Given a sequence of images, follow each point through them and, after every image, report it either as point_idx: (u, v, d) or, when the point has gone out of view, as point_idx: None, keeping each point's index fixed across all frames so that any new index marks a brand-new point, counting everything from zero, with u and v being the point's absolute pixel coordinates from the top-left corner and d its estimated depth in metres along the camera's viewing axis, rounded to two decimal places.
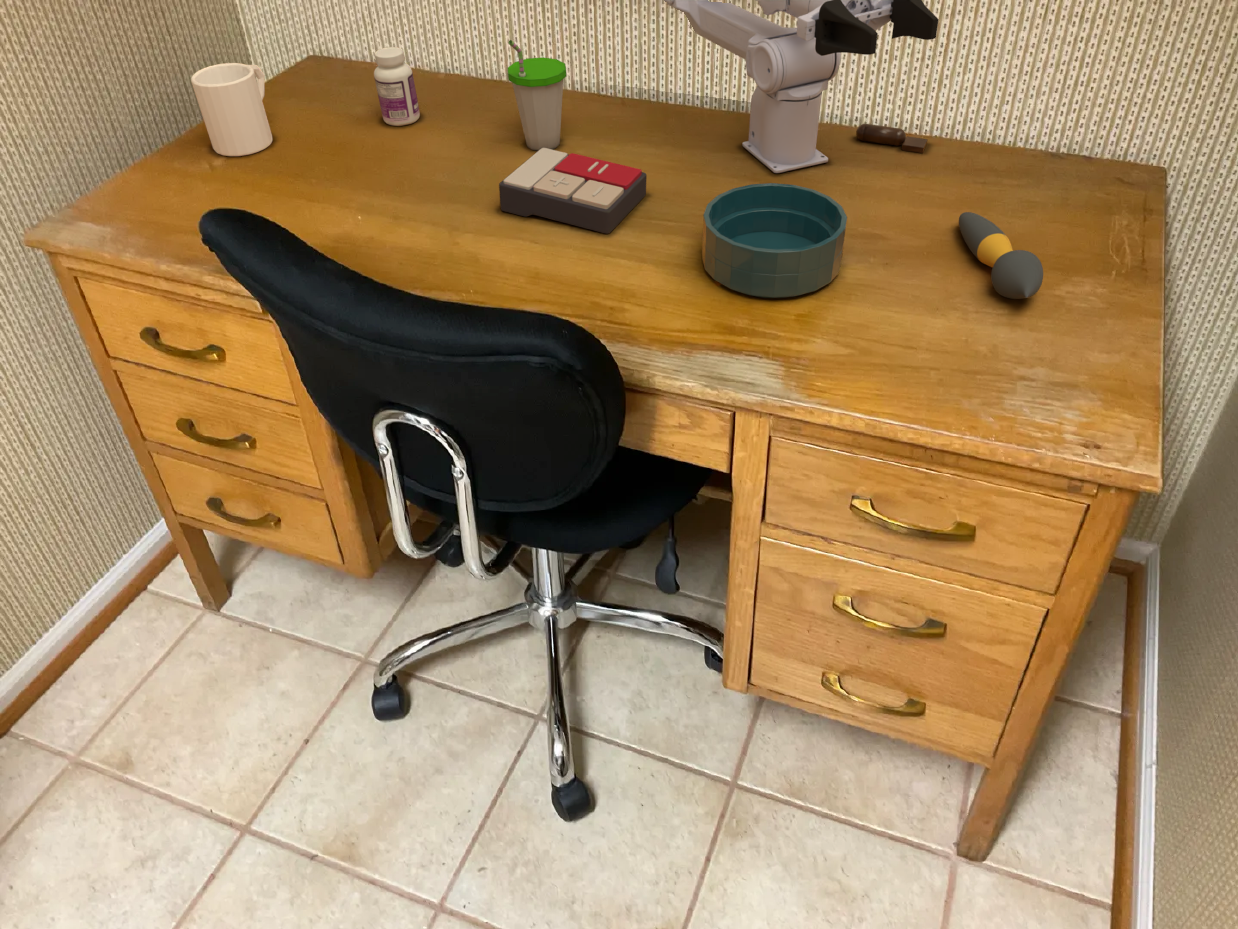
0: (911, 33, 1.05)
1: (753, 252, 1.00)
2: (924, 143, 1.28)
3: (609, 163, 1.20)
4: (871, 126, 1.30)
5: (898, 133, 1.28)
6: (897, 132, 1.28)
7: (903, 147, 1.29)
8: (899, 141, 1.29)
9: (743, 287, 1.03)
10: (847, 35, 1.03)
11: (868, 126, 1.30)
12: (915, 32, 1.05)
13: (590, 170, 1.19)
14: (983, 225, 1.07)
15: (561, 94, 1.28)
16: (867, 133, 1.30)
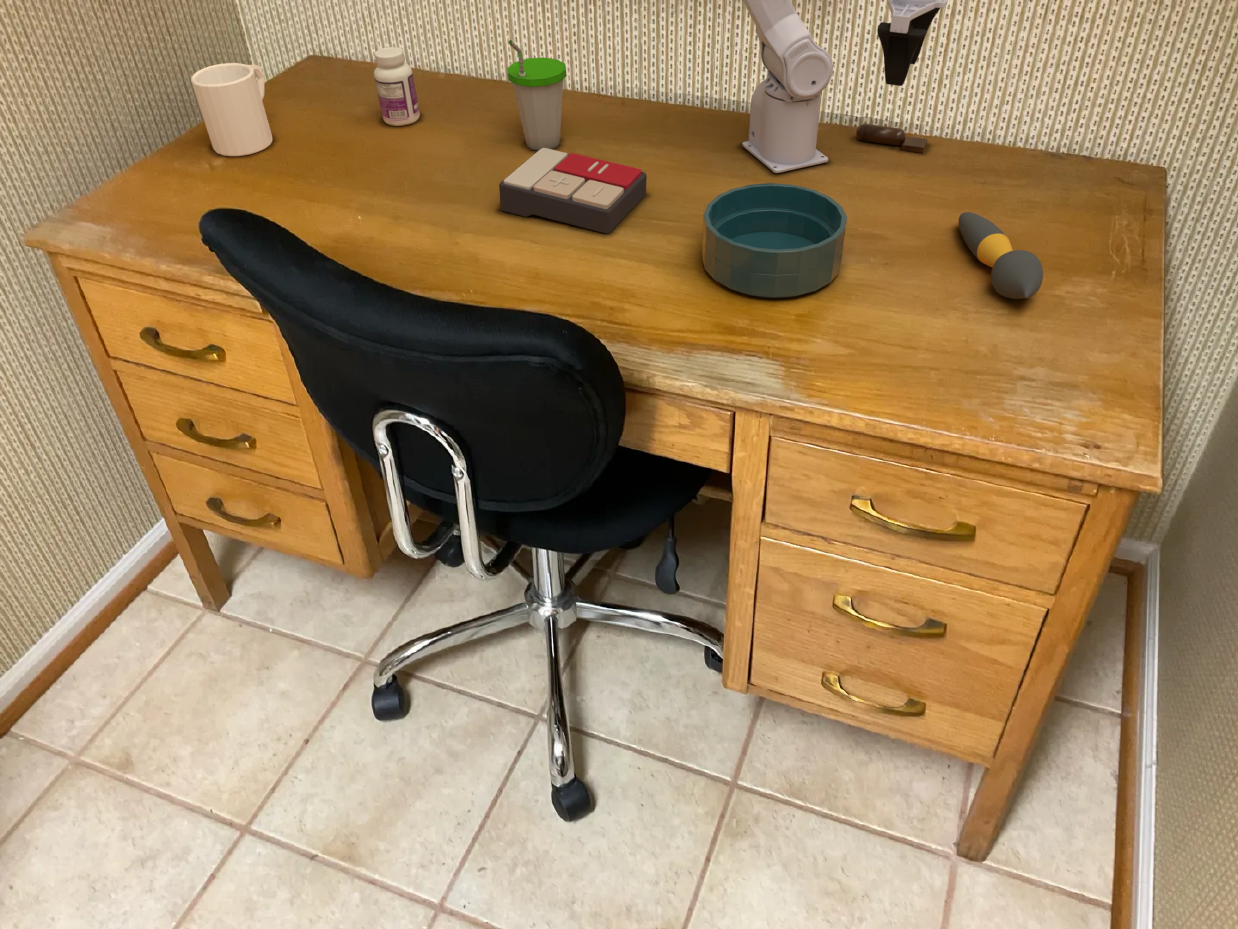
0: None
1: (753, 252, 1.00)
2: (924, 143, 1.28)
3: (609, 163, 1.20)
4: (871, 126, 1.30)
5: (898, 133, 1.28)
6: (897, 132, 1.28)
7: (903, 147, 1.29)
8: (899, 141, 1.29)
9: (743, 287, 1.03)
10: (897, 53, 1.19)
11: (868, 126, 1.30)
12: None
13: (590, 170, 1.19)
14: (983, 225, 1.07)
15: (561, 94, 1.28)
16: (867, 133, 1.30)
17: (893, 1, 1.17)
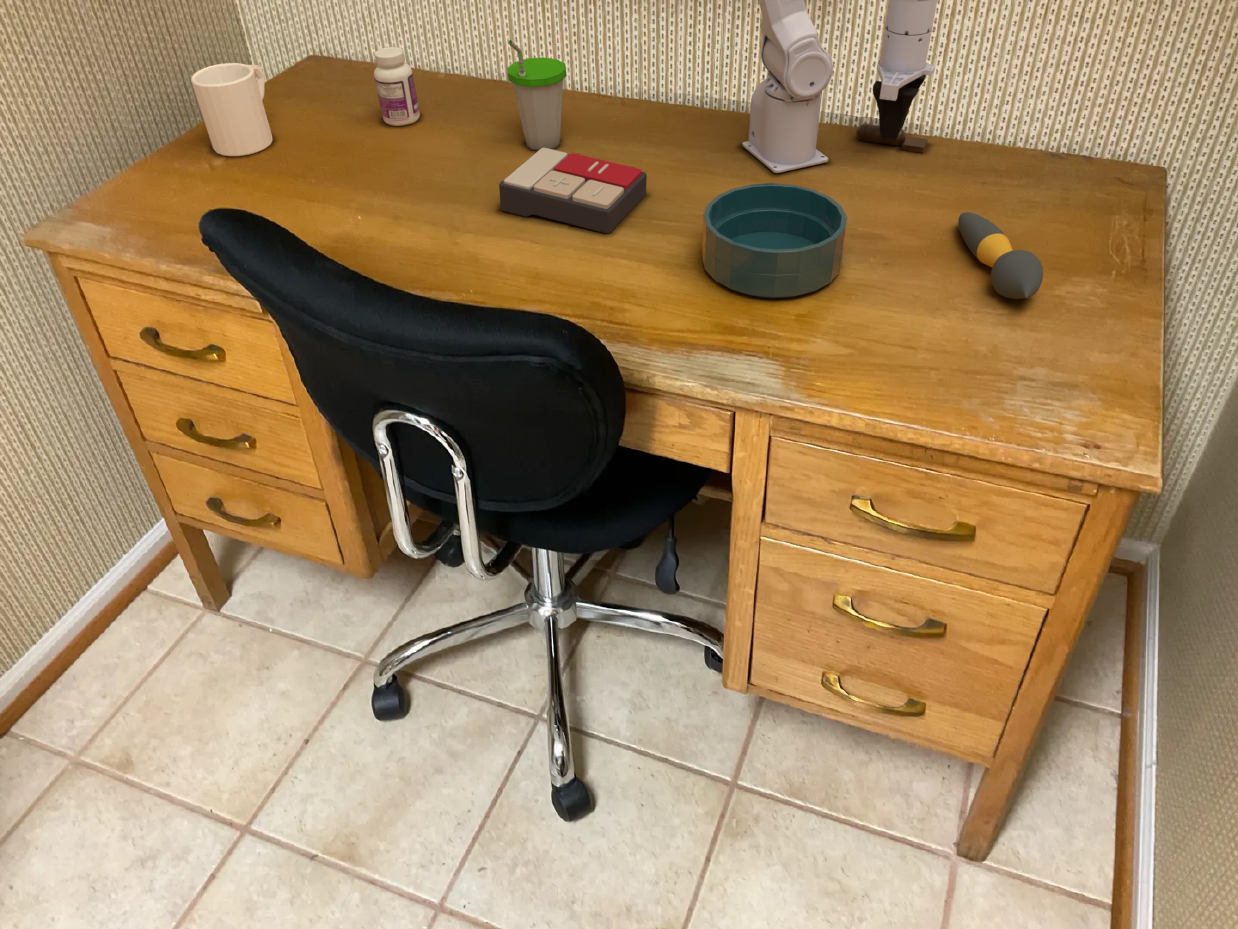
0: None
1: (753, 252, 1.00)
2: (924, 143, 1.28)
3: (609, 163, 1.20)
4: (871, 126, 1.30)
5: None
6: None
7: (903, 147, 1.29)
8: (899, 141, 1.29)
9: (743, 287, 1.03)
10: (891, 109, 1.26)
11: (868, 126, 1.30)
12: None
13: (590, 170, 1.19)
14: (982, 225, 1.07)
15: (561, 94, 1.28)
16: (867, 133, 1.30)
17: (883, 68, 1.22)
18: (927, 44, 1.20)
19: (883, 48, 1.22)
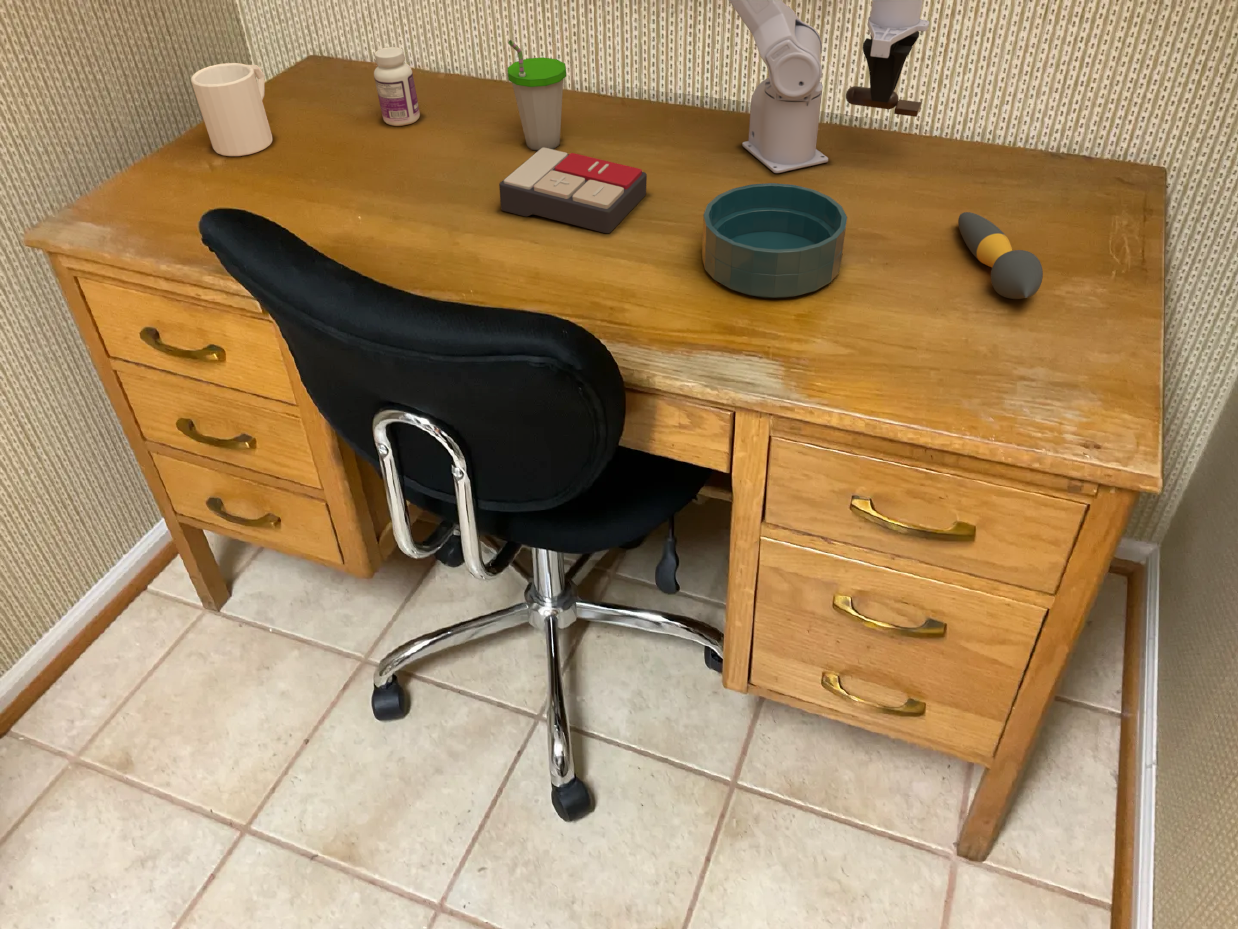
0: None
1: (753, 252, 1.00)
2: (918, 106, 1.20)
3: (609, 163, 1.20)
4: (861, 88, 1.21)
5: None
6: None
7: (896, 110, 1.20)
8: (891, 104, 1.21)
9: (743, 287, 1.03)
10: (883, 69, 1.17)
11: (859, 89, 1.22)
12: None
13: (590, 170, 1.19)
14: (982, 225, 1.07)
15: (561, 94, 1.28)
16: (857, 96, 1.22)
17: (874, 24, 1.14)
18: None
19: (874, 3, 1.13)
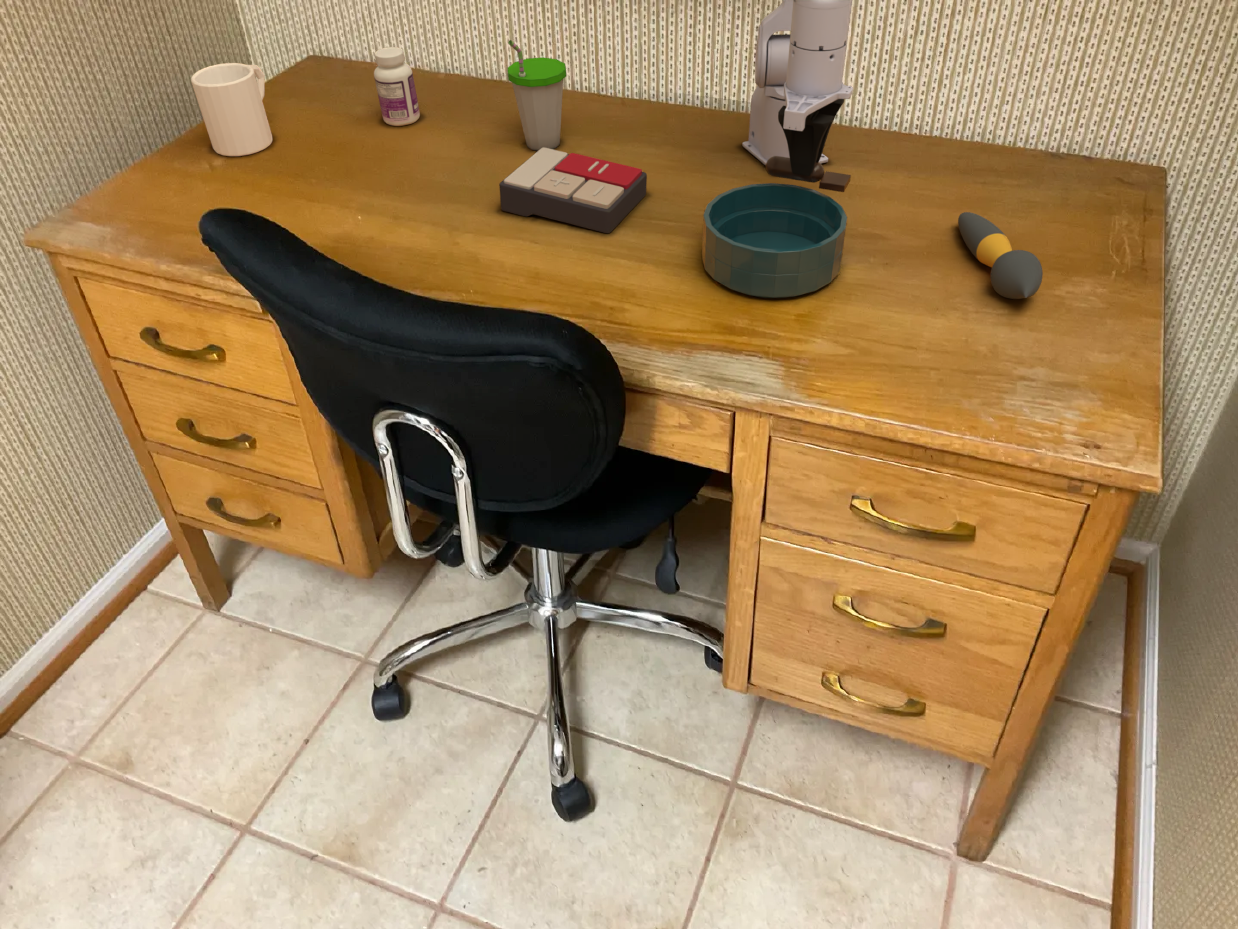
0: None
1: (753, 252, 1.00)
2: (846, 180, 1.06)
3: (609, 163, 1.20)
4: (783, 159, 1.07)
5: (814, 168, 1.06)
6: None
7: (821, 185, 1.06)
8: (816, 178, 1.06)
9: (743, 287, 1.03)
10: (803, 140, 1.03)
11: (780, 159, 1.07)
12: None
13: (590, 170, 1.19)
14: (982, 225, 1.07)
15: (561, 94, 1.28)
16: (778, 168, 1.07)
17: (789, 91, 1.00)
18: (842, 62, 0.98)
19: (789, 67, 0.99)
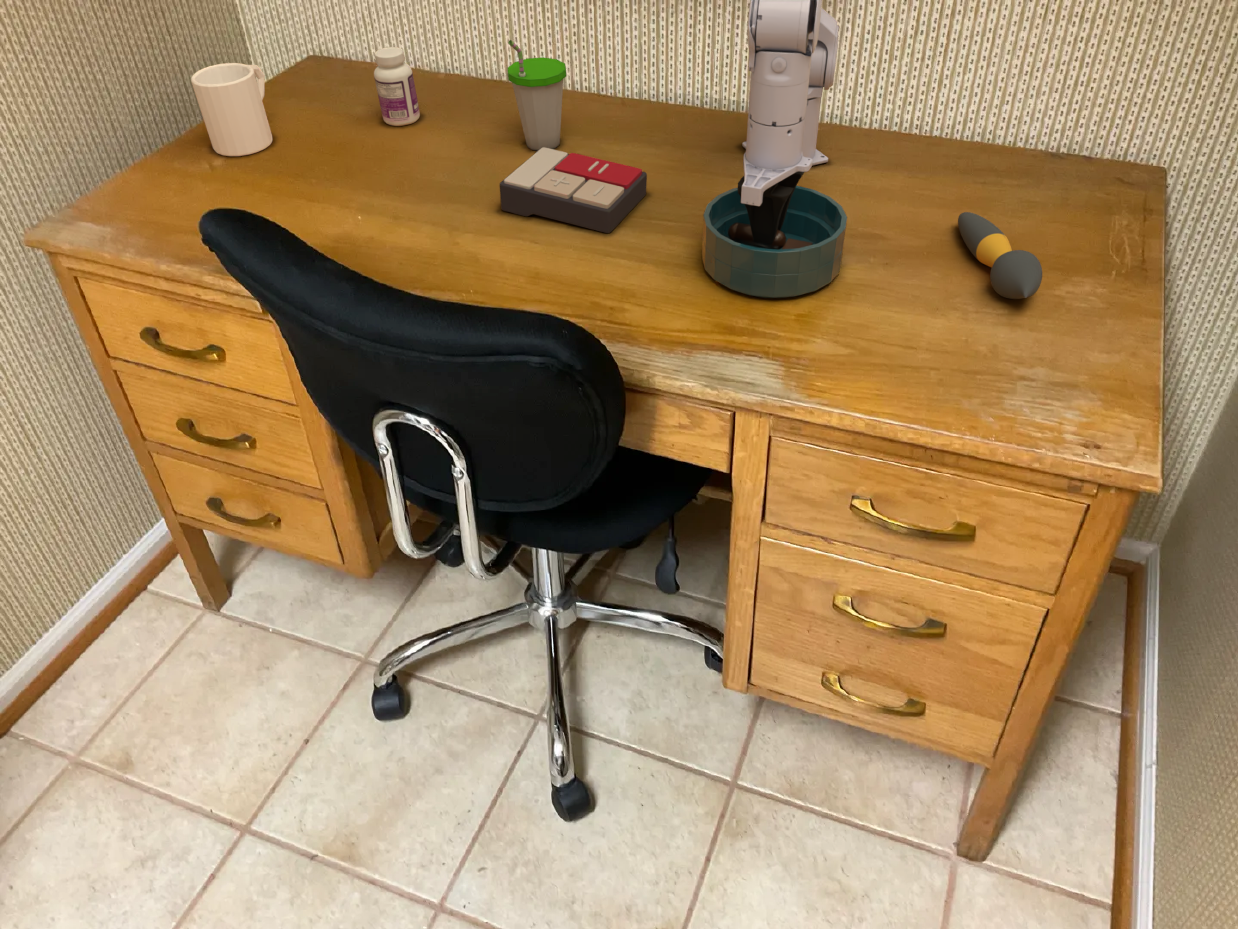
0: None
1: (753, 252, 1.00)
2: None
3: (609, 163, 1.20)
4: (744, 227, 1.07)
5: (776, 236, 1.05)
6: None
7: None
8: (777, 246, 1.06)
9: (743, 287, 1.03)
10: (763, 210, 1.03)
11: (741, 226, 1.07)
12: None
13: (590, 170, 1.19)
14: (982, 225, 1.07)
15: (561, 94, 1.28)
16: (740, 235, 1.07)
17: (748, 163, 0.99)
18: (800, 136, 0.97)
19: (748, 140, 0.99)
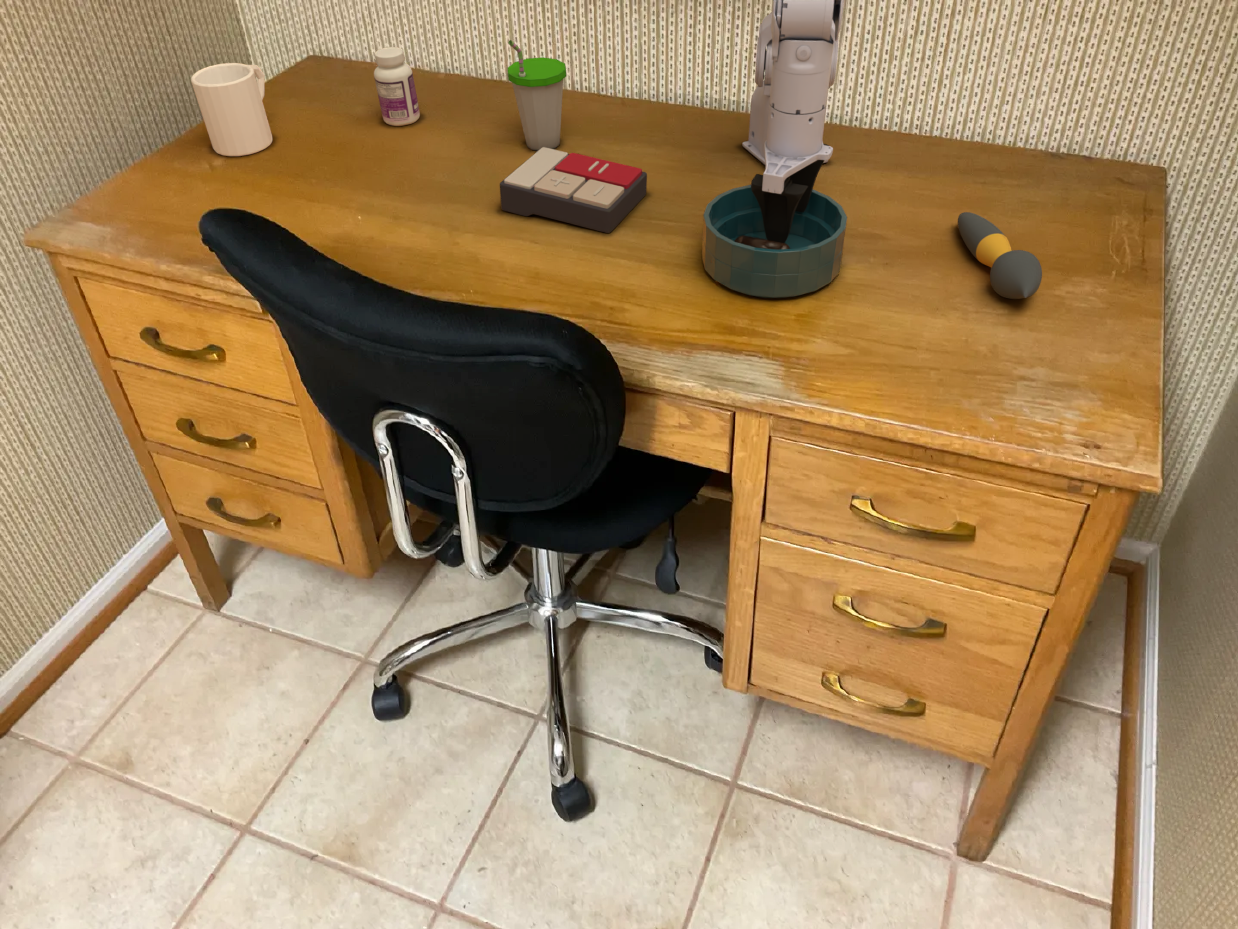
0: None
1: (753, 252, 1.00)
2: None
3: (609, 162, 1.20)
4: (750, 239, 1.07)
5: None
6: (779, 248, 1.06)
7: None
8: None
9: (743, 287, 1.03)
10: (776, 208, 1.02)
11: (747, 239, 1.08)
12: None
13: (590, 170, 1.19)
14: (981, 225, 1.07)
15: (561, 94, 1.28)
16: None
17: (769, 151, 1.00)
18: (821, 124, 0.98)
19: (769, 128, 0.99)
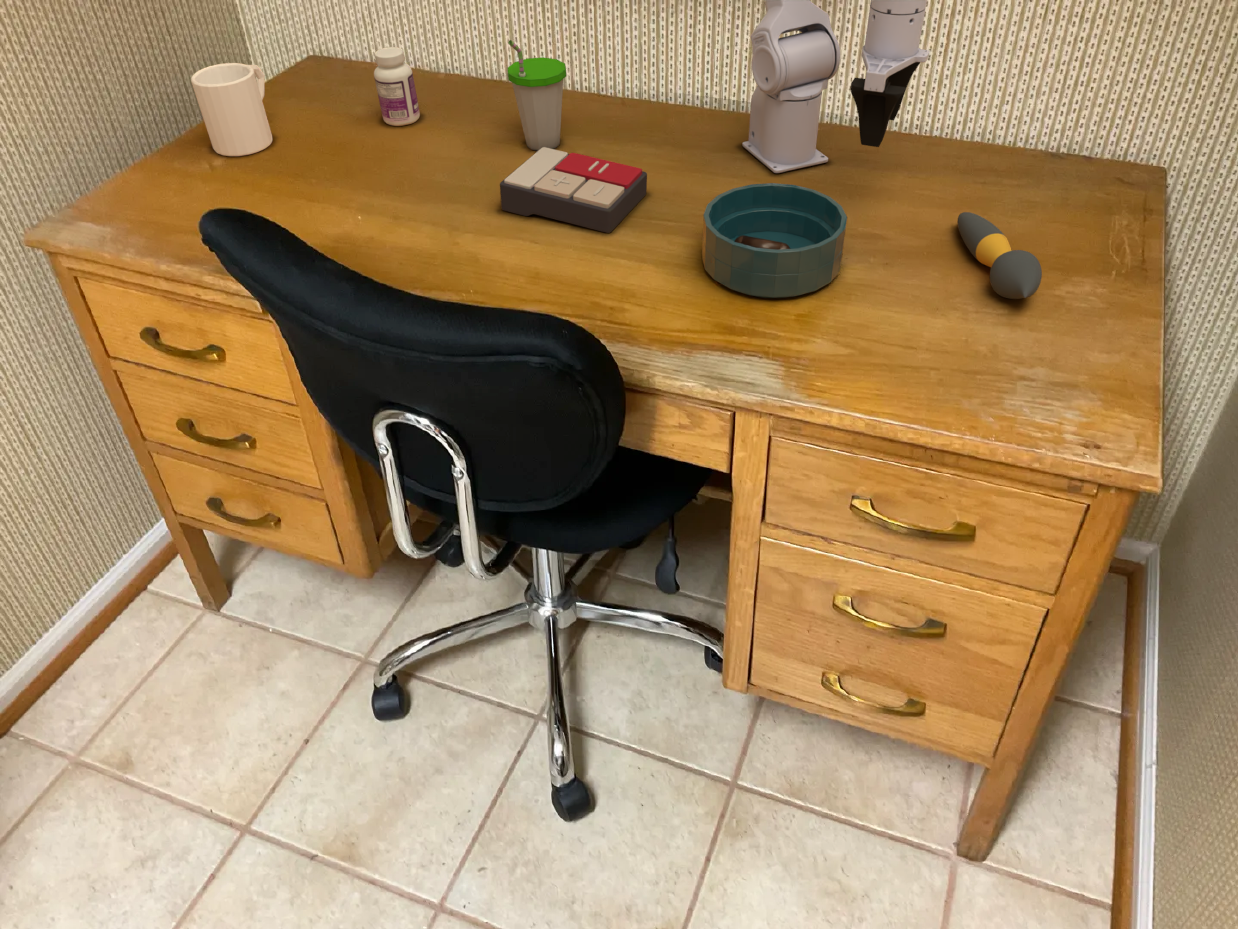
0: None
1: (753, 252, 1.00)
2: None
3: (609, 162, 1.20)
4: (750, 239, 1.07)
5: None
6: (779, 248, 1.06)
7: None
8: None
9: (743, 287, 1.03)
10: (873, 111, 1.06)
11: (747, 239, 1.08)
12: None
13: (590, 170, 1.19)
14: (981, 225, 1.07)
15: (561, 94, 1.28)
16: None
17: (868, 54, 1.04)
18: (920, 26, 1.02)
19: (868, 31, 1.04)
